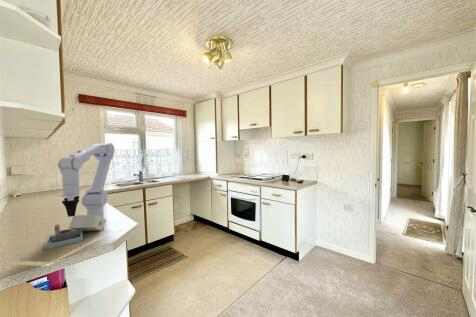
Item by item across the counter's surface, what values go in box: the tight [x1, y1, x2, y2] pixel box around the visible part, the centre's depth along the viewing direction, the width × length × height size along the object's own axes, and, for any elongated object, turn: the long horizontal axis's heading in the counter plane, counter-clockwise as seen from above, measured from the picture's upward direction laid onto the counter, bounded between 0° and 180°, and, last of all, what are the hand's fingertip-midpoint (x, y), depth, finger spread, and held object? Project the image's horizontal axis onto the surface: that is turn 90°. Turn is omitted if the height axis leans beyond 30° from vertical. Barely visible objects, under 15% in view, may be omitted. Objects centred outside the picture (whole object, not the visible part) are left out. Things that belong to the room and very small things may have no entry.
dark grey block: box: [51, 228, 75, 243], centre depth 79 cm, size 5×7×4 cm
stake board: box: [44, 222, 75, 241], centre depth 87 cm, size 9×10×6 cm
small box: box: [68, 214, 107, 232], centre depth 89 cm, size 8×6×10 cm
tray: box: [43, 230, 84, 250], centre depth 79 cm, size 11×11×2 cm
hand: (71, 214), depth 87 cm, fingers open, 7 cm apart
